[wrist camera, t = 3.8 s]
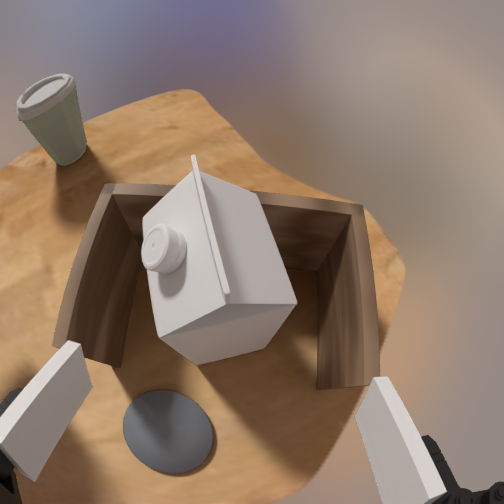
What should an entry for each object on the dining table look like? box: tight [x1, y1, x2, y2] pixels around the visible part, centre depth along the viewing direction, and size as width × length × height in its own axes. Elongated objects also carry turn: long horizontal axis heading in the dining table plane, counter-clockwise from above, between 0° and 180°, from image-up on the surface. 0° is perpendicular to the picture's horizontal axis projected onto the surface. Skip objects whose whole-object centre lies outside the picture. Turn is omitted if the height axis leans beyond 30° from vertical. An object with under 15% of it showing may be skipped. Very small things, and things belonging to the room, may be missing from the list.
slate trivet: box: [123, 390, 213, 474], centre depth 22 cm, size 9×9×1 cm
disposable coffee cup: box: [16, 73, 87, 166], centre depth 32 cm, size 11×11×15 cm
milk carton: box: [141, 155, 297, 365], centre depth 19 cm, size 7×7×19 cm
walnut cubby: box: [52, 183, 380, 389], centre depth 23 cm, size 22×14×11 cm, turn 86°
